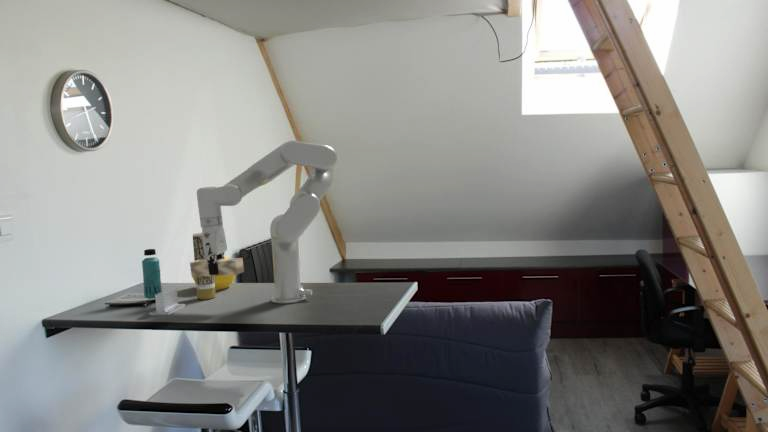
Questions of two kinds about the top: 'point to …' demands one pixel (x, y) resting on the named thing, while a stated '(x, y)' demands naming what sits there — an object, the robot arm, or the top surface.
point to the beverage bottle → (151, 275)
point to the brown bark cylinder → (203, 283)
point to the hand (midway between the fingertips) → (217, 272)
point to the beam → (224, 267)
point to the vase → (221, 280)
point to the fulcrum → (167, 302)
